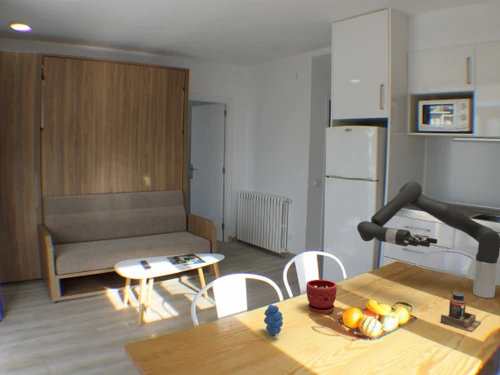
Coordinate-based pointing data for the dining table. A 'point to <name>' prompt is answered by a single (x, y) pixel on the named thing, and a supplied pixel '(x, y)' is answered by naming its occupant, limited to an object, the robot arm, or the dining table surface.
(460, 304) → the supplement bottle
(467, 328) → the wooden tray
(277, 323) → the grapes
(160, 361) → the dining table surface
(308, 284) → the plant pot
